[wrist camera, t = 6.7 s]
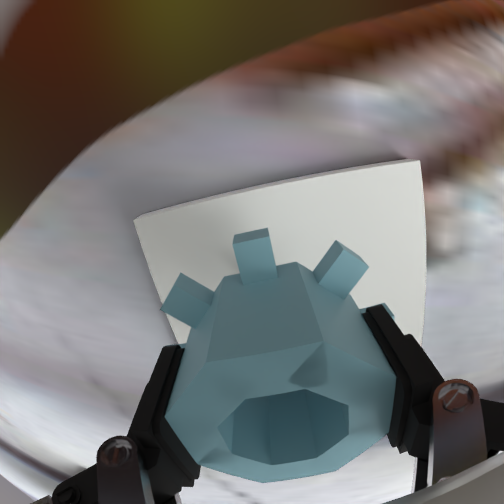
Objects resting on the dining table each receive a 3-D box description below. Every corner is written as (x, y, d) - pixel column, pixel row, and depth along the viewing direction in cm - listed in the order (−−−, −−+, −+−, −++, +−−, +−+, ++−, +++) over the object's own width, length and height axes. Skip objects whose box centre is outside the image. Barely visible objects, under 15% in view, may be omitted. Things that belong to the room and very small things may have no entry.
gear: (382, 388, 12) (413, 461, 8) (203, 421, 13) (191, 498, 9) (377, 204, 9) (455, 248, 5) (130, 258, 10) (66, 326, 6)
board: (405, 397, 22) (433, 455, 15) (229, 434, 23) (224, 499, 17) (407, 158, 16) (482, 171, 9) (142, 214, 17) (82, 254, 10)
